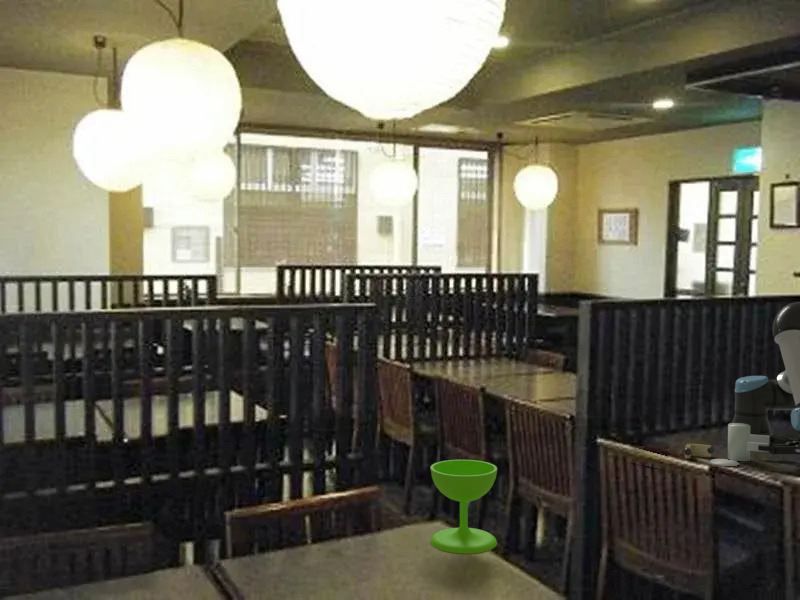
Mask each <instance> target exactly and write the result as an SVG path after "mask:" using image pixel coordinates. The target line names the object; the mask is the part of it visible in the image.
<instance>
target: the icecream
mask: <svg viewBox="0 0 800 600" xmlns="http://www.w3.org/2000/svg"><path fill="white" fill-rule="evenodd" d="M635 447H636V448H639V449H643V450H646V451H650V452H653V453H657V454H661V455H665V456H667V457H669V455H670V452H669V451H668V450H667V449H659V448H658V447H656V446H655V445H653V444H651V443H646V444H645V445H642V446H635Z"/></svg>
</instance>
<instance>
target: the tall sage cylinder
mask: <svg viewBox="0 0 800 600" xmlns="http://www.w3.org/2000/svg"><path fill="white" fill-rule="evenodd" d="M747 442H750V425H748V424H743V423H732V422H730V423H728V424H727V459H730V460H734V461H749V462H750V461H751V451H748V450H747Z"/></svg>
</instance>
